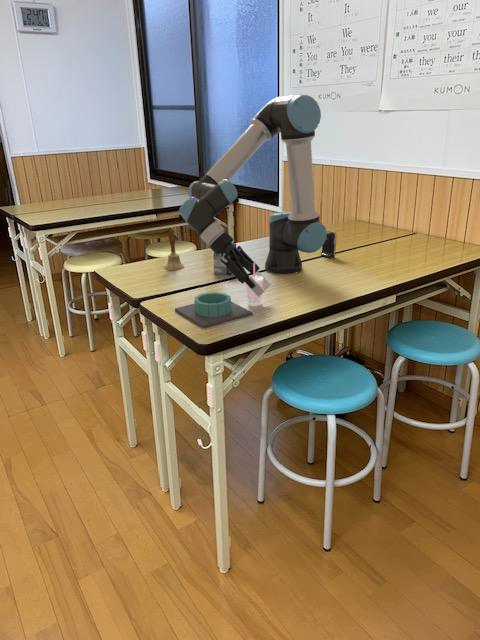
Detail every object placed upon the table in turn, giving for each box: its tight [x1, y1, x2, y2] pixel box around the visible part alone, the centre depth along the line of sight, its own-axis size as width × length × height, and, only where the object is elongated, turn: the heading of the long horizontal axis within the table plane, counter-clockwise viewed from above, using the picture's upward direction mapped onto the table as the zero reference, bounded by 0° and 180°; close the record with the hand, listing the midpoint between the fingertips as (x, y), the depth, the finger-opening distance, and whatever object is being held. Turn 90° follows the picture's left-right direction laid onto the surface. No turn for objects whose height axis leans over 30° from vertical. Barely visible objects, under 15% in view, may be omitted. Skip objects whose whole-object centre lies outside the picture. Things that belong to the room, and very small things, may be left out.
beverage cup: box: [245, 262, 265, 307], centre depth 162 cm, size 6×6×14 cm
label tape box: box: [212, 242, 237, 276], centre depth 195 cm, size 9×4×12 cm, turn 68°
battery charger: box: [320, 229, 337, 258], centre depth 215 cm, size 7×4×11 cm, turn 38°
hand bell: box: [164, 229, 185, 271], centre depth 204 cm, size 8×8×16 cm
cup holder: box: [174, 291, 253, 329], centre depth 156 cm, size 18×18×5 cm
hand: (264, 290), depth 161 cm, fingers closed on beverage cup, 6 cm apart
